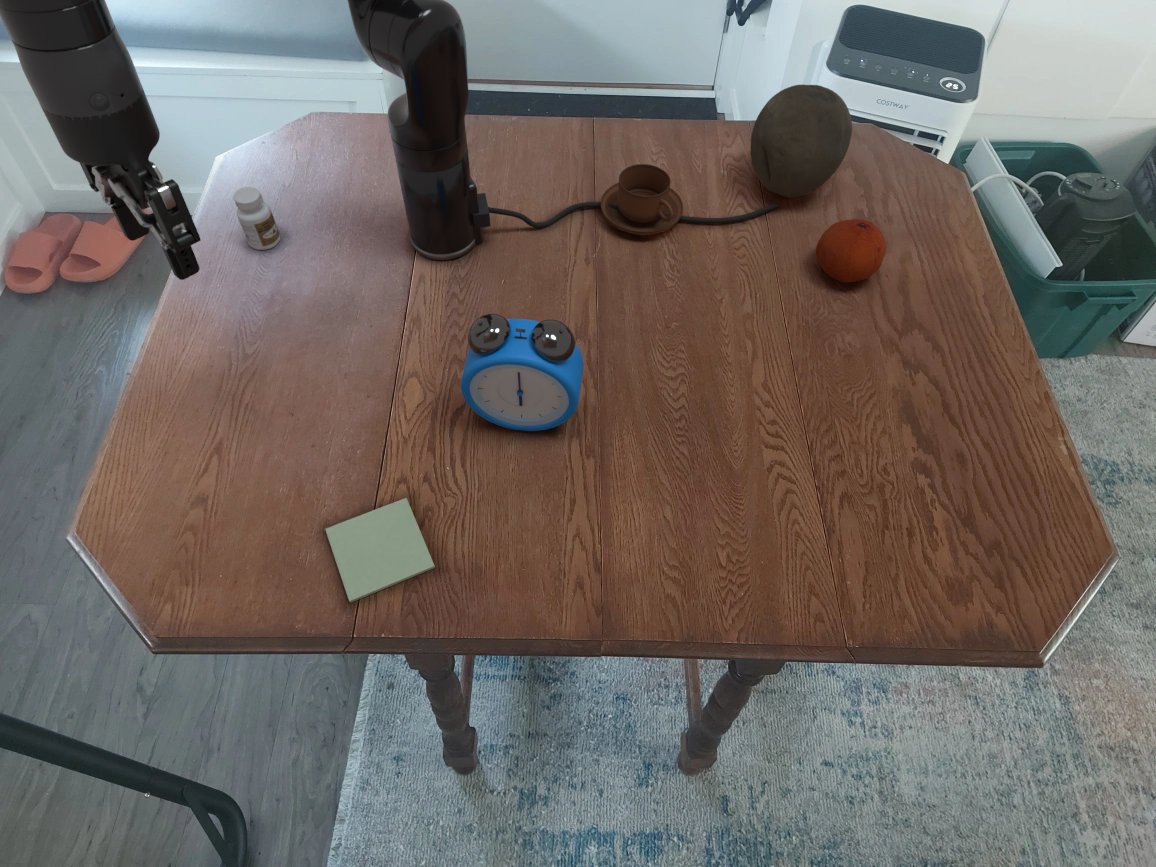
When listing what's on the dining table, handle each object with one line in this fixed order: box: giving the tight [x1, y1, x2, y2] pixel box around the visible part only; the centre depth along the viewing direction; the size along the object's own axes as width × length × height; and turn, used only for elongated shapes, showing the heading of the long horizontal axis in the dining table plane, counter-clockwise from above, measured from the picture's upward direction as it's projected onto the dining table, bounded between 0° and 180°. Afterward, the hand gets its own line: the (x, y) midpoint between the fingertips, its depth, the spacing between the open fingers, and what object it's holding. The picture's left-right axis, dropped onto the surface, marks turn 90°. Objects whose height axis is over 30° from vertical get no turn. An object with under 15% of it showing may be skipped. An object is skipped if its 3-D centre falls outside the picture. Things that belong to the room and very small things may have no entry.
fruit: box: [815, 218, 887, 283], centre depth 102 cm, size 9×9×8 cm
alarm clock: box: [460, 313, 584, 432], centre depth 84 cm, size 13×6×15 cm, turn 84°
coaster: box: [324, 497, 436, 604], centre depth 79 cm, size 9×9×1 cm
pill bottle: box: [232, 186, 281, 251], centre depth 103 cm, size 4×4×8 cm
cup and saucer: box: [600, 163, 684, 236], centre depth 109 cm, size 12×12×6 cm
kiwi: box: [749, 84, 853, 199], centre depth 110 cm, size 14×14×15 cm
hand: (162, 254), depth 73 cm, fingers open, 8 cm apart
